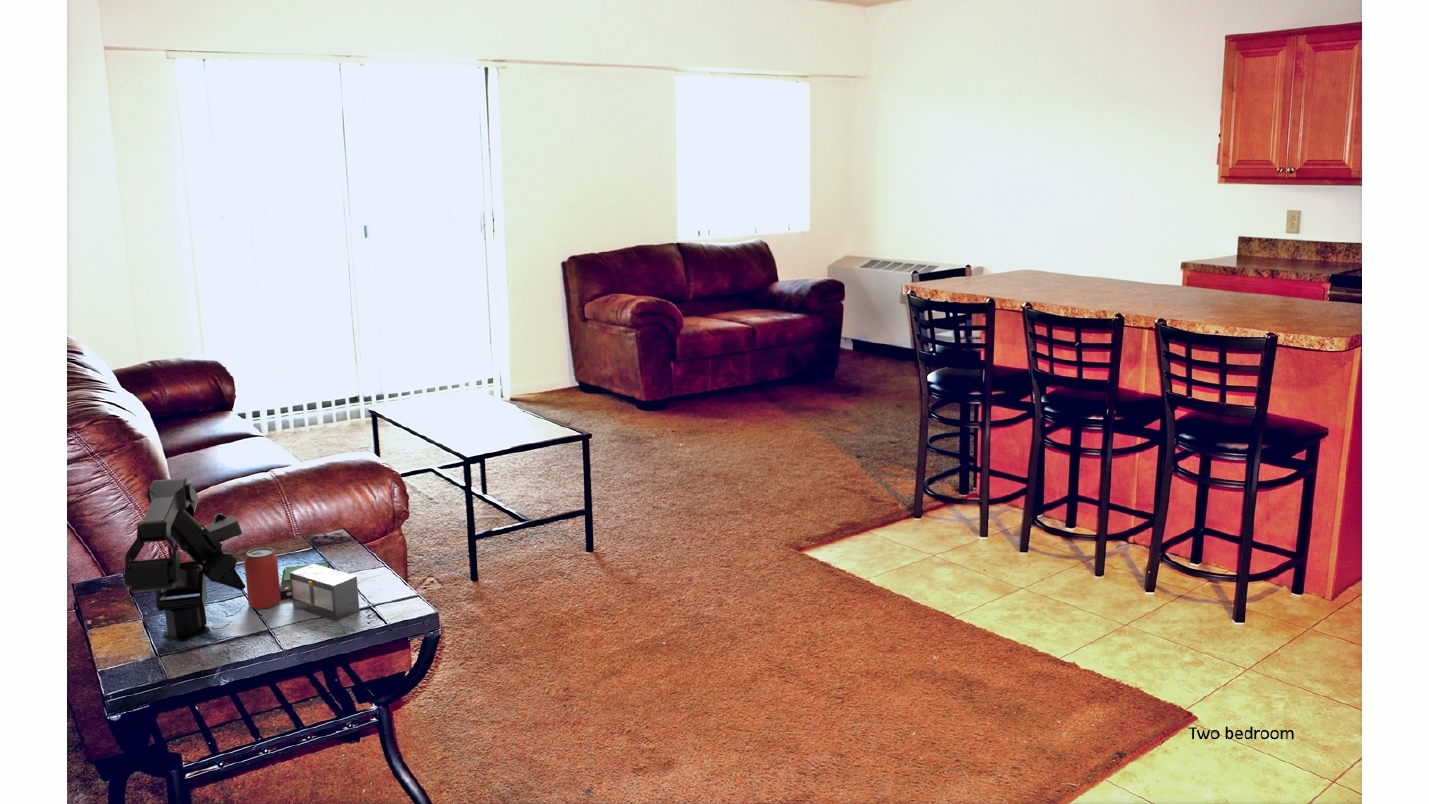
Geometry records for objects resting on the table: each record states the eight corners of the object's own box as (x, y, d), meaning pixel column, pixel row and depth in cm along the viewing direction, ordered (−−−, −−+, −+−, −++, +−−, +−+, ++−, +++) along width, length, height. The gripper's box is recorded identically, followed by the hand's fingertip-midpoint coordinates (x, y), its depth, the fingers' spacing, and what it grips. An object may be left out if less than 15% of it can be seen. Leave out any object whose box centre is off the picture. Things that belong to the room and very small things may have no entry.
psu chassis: (335, 622, 223) (331, 586, 221) (291, 607, 230) (288, 573, 228) (359, 611, 228) (356, 576, 226) (316, 597, 235) (312, 563, 234)
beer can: (257, 597, 235) (252, 546, 233) (286, 598, 235) (282, 547, 232) (242, 609, 229) (237, 557, 226) (272, 610, 229) (267, 558, 226)
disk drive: (330, 596, 237) (330, 571, 251) (329, 585, 237) (329, 560, 250) (280, 603, 234) (283, 577, 248) (279, 591, 233) (282, 566, 247)
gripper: (230, 515, 213) (281, 566, 221) (208, 495, 228) (257, 544, 235) (183, 555, 209) (237, 606, 217) (164, 531, 224) (215, 580, 231)
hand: (238, 582), depth 225 cm, fingers open, 9 cm apart
